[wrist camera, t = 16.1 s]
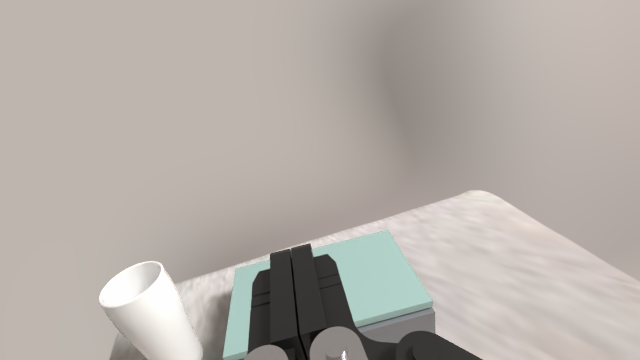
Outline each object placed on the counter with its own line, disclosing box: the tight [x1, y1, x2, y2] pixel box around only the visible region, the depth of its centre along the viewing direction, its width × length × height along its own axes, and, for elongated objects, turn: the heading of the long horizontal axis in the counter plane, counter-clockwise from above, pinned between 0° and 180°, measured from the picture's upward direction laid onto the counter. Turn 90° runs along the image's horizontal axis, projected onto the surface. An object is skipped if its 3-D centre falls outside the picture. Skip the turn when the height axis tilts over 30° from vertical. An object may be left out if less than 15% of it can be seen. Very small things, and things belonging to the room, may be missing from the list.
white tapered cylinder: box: [99, 261, 203, 360], centre depth 36 cm, size 7×7×15 cm
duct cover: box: [223, 230, 433, 360], centre depth 39 cm, size 24×14×1 cm, turn 99°
